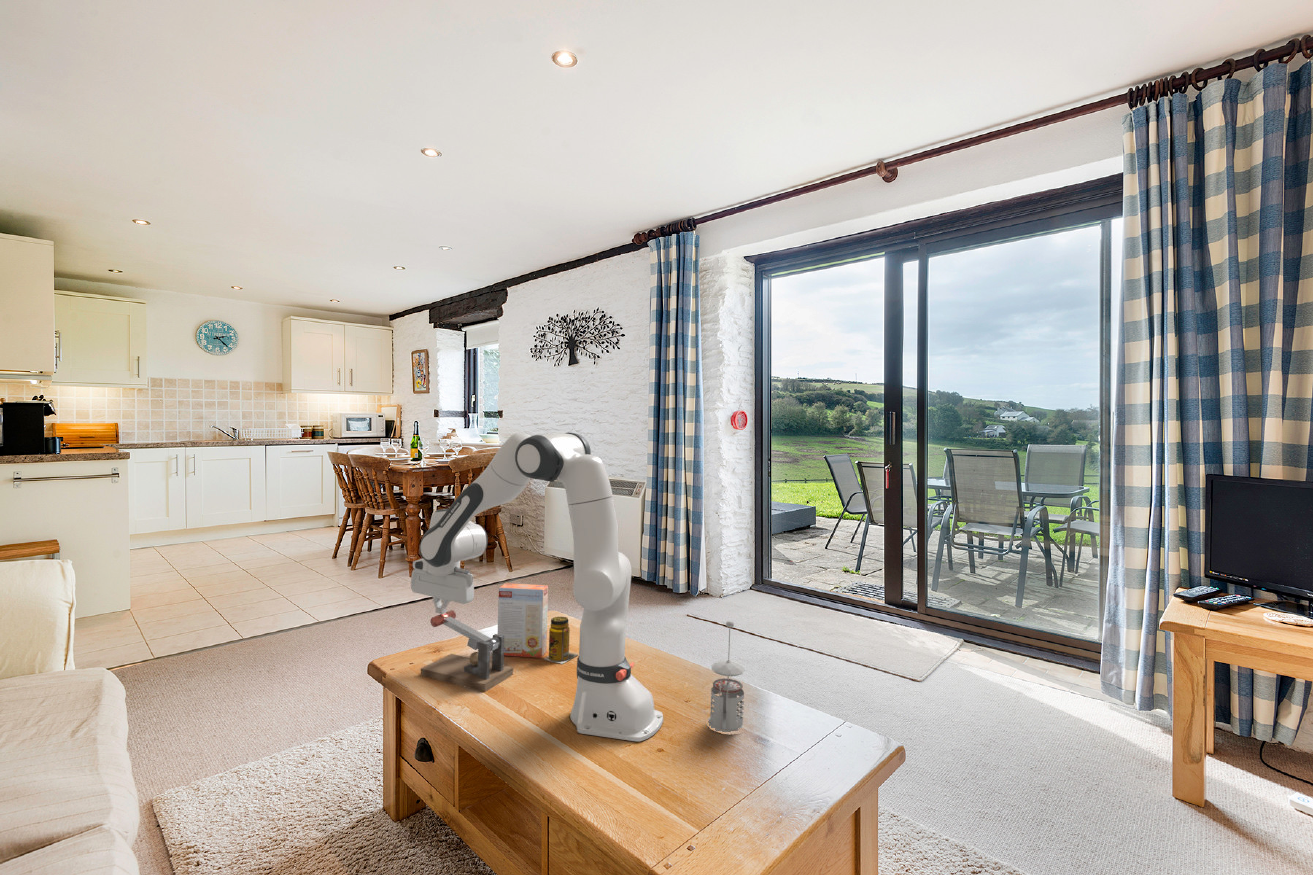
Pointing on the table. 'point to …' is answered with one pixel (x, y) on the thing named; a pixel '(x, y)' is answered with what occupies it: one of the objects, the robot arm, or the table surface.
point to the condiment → (559, 641)
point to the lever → (464, 630)
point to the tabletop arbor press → (472, 668)
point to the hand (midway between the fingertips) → (440, 612)
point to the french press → (727, 695)
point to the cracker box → (523, 619)
